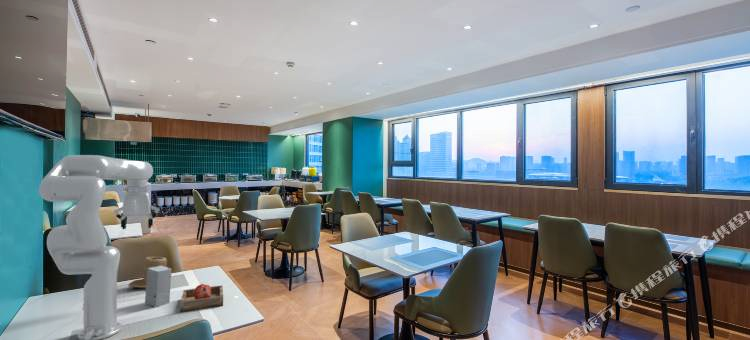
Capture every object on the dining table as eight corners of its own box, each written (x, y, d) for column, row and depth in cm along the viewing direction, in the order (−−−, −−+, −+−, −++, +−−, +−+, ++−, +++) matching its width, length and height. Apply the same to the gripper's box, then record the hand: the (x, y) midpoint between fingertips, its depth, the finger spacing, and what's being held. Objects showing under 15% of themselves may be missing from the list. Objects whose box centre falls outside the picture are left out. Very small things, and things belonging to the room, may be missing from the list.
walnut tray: (223, 305, 151) (223, 296, 151) (180, 312, 144) (180, 302, 144) (222, 293, 165) (222, 285, 165) (183, 298, 158) (183, 290, 158)
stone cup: (172, 283, 181) (172, 254, 181) (156, 290, 169) (156, 260, 169) (145, 282, 182) (145, 253, 182) (127, 289, 170) (127, 259, 170)
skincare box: (144, 304, 152) (144, 268, 152) (160, 298, 158) (161, 264, 158) (155, 307, 148) (155, 271, 148) (172, 302, 154) (172, 267, 154)
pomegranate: (191, 305, 154) (193, 297, 147) (192, 289, 158) (194, 280, 151) (209, 304, 157) (212, 296, 151) (210, 288, 162) (213, 280, 155)
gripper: (111, 191, 148) (111, 231, 148) (158, 190, 155) (158, 228, 155) (116, 190, 155) (115, 228, 155) (160, 189, 162) (160, 225, 162)
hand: (137, 228), depth 155 cm, fingers open, 9 cm apart
